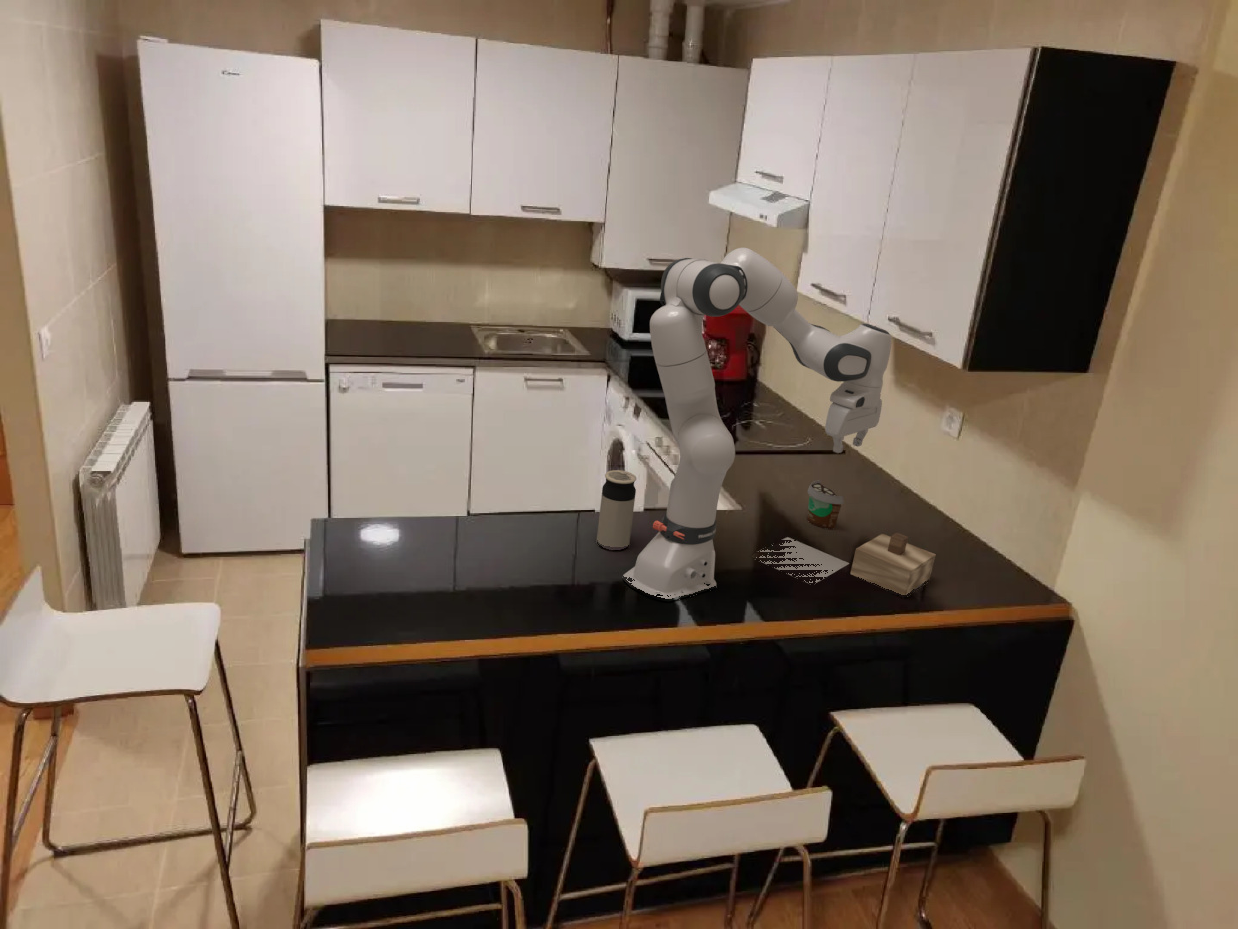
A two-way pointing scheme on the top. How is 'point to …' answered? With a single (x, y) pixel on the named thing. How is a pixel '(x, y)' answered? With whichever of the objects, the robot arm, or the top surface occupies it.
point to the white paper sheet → (807, 559)
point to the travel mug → (616, 509)
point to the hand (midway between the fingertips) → (847, 448)
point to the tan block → (893, 563)
